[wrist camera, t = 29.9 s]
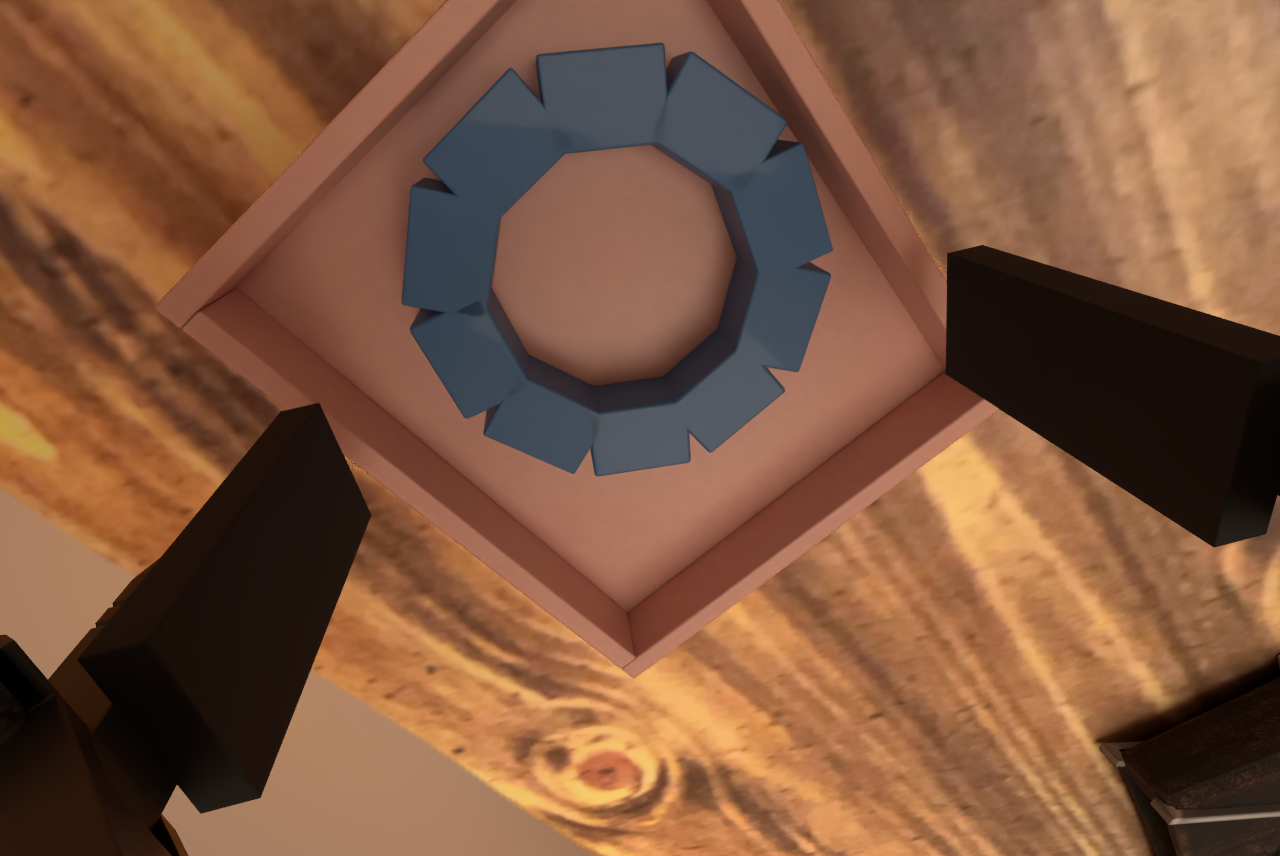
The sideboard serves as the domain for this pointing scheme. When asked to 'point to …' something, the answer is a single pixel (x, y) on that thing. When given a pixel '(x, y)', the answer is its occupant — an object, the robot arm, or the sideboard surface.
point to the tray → (592, 323)
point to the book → (1211, 779)
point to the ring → (598, 120)
